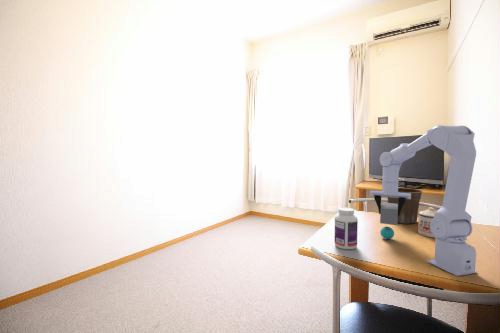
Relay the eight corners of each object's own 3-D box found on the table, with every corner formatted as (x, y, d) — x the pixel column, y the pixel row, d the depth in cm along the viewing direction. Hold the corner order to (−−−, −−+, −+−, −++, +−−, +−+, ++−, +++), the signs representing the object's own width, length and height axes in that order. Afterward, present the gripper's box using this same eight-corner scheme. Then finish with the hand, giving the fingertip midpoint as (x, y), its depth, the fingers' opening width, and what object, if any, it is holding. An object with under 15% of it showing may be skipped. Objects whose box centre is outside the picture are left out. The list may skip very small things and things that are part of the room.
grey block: (397, 225, 97) (397, 209, 96) (380, 223, 100) (380, 208, 99) (397, 217, 106) (397, 203, 106) (381, 216, 109) (381, 202, 109)
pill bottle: (355, 243, 98) (356, 207, 97) (358, 251, 90) (359, 212, 89) (333, 241, 100) (334, 206, 99) (334, 249, 92) (335, 210, 91)
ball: (396, 230, 103) (397, 238, 99) (386, 235, 106) (386, 243, 102) (387, 222, 103) (388, 230, 99) (377, 227, 106) (377, 235, 102)
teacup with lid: (414, 233, 109) (415, 207, 108) (422, 229, 114) (423, 204, 114) (448, 241, 99) (449, 212, 98) (455, 236, 105) (456, 209, 104)
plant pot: (381, 215, 139) (382, 186, 137) (415, 217, 134) (416, 187, 132) (387, 223, 123) (389, 191, 122) (426, 227, 118) (427, 193, 117)
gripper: (410, 181, 102) (409, 214, 103) (371, 179, 109) (370, 210, 110) (411, 183, 96) (410, 218, 97) (369, 181, 103) (368, 214, 104)
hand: (389, 214), depth 103 cm, fingers closed on grey block, 6 cm apart
